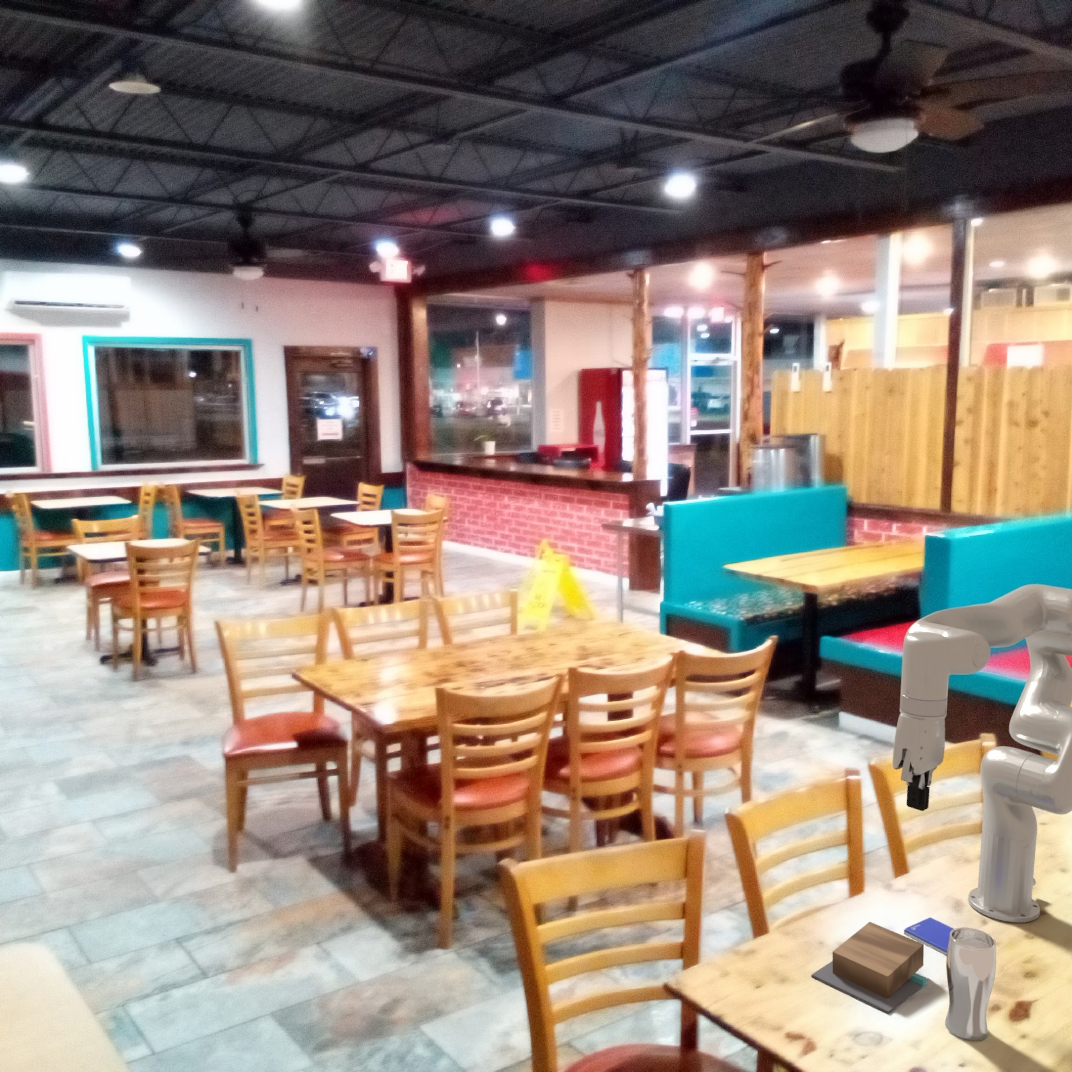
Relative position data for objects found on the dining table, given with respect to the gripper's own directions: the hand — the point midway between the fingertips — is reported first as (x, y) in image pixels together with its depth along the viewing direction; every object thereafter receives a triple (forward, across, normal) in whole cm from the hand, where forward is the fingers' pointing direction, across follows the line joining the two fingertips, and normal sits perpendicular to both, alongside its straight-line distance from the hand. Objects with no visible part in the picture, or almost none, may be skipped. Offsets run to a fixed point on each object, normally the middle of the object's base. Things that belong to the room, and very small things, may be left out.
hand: (917, 807), depth 175 cm
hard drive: (+28, -8, +3) cm, 29 cm away
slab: (+23, +5, 0) cm, 24 cm away
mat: (+27, +14, 0) cm, 30 cm away
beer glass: (+27, +14, +17) cm, 35 cm away
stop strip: (+27, +8, 0) cm, 28 cm away
